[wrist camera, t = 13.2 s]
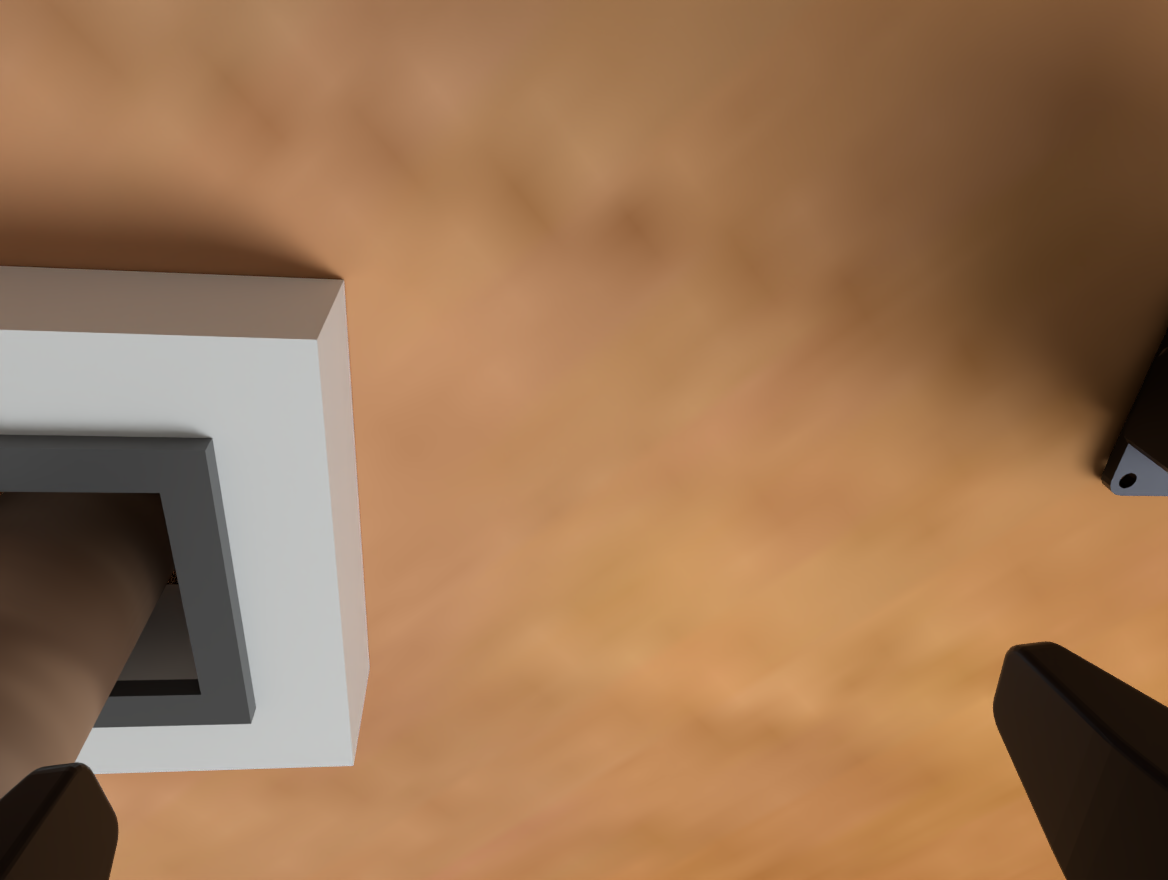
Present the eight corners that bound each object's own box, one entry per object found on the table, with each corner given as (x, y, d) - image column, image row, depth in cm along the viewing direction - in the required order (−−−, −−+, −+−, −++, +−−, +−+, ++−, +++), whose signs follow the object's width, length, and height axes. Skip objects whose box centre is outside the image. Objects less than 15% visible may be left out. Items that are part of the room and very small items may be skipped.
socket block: (343, 279, 19) (312, 350, 15) (369, 667, 25) (350, 781, 21) (-247, 255, 17) (-429, 327, 14) (-71, 675, 23) (-168, 799, 20)
